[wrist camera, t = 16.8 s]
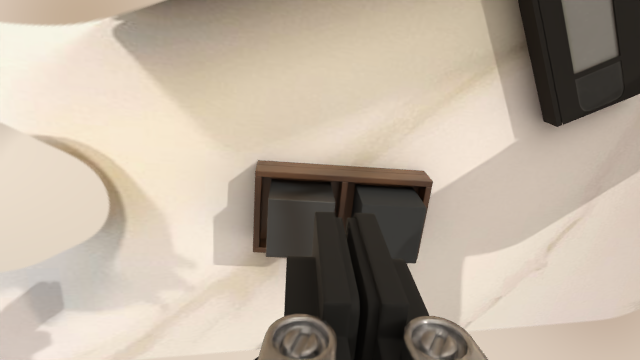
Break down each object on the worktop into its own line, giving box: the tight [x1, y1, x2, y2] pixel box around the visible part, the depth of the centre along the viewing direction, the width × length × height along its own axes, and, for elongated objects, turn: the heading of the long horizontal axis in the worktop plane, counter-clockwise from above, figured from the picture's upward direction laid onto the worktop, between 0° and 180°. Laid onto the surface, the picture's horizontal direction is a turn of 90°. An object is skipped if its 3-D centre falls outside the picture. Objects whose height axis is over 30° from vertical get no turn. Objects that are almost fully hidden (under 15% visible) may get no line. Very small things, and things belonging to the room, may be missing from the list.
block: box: [351, 185, 427, 263], centre depth 34 cm, size 5×5×4 cm
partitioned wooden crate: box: [253, 161, 433, 258], centre depth 34 cm, size 14×7×5 cm, turn 85°
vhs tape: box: [518, 0, 640, 127], centre depth 30 cm, size 8×14×2 cm, turn 23°
